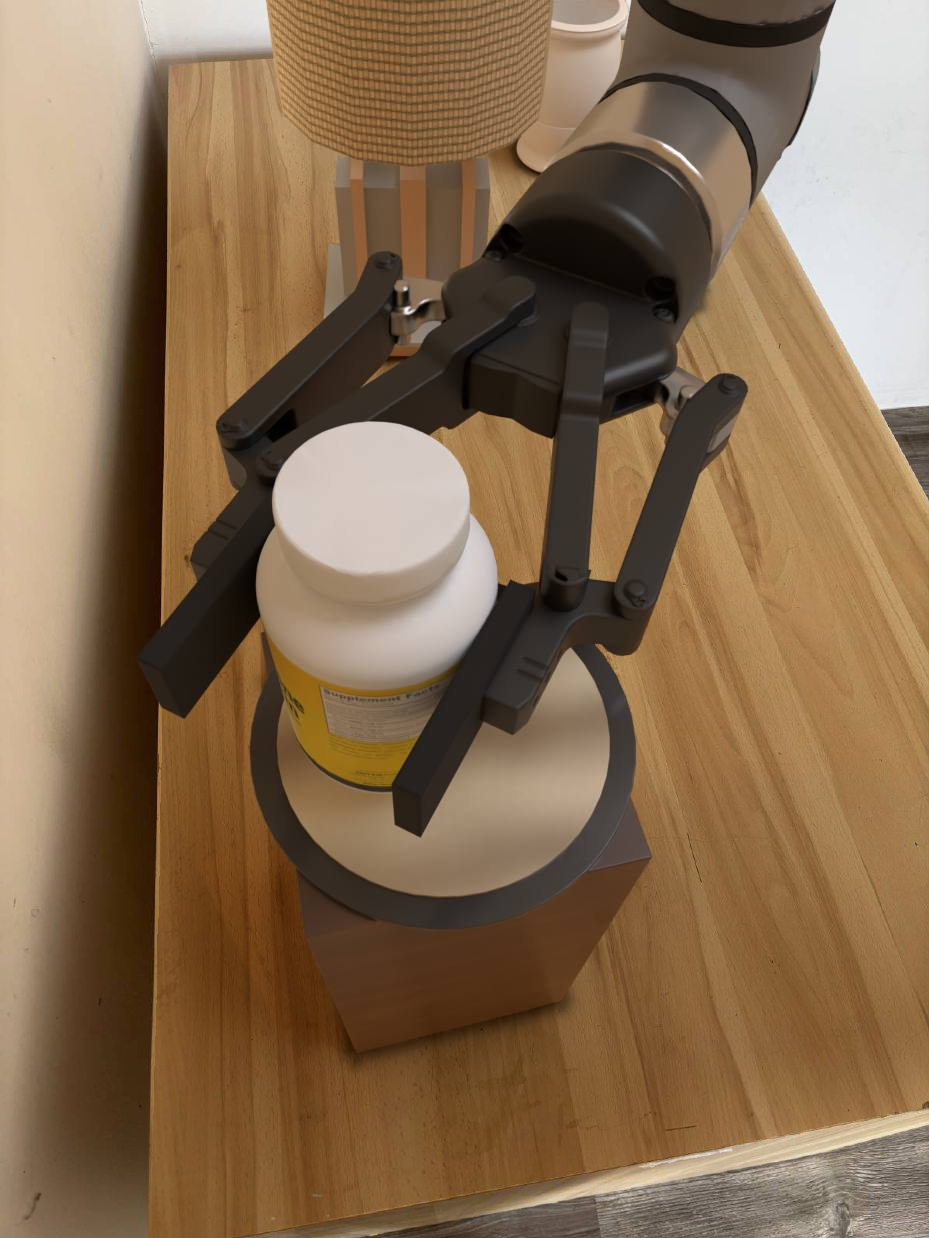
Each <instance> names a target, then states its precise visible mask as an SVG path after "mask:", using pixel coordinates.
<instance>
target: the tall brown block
mask: <svg viewBox="0 0 929 1238" xmlns="http://www.w3.org/2000/svg"><path fill="white" fill-rule="evenodd" d="M538 583H539V581H534V582H529V583H522V584H523V585H525V586H527V587H530V588H532V589H534V590H536V594H535V598H536V596H537V592H538ZM506 586H507V584H502V583H499V582H498V589H497V600H496V603H497V602H498V600H499V598H500V596H501V595H502V593H503V591H504V589H505V588H506ZM260 639H261V645H262V653H263V661H264V667H265V674H266V679H265V681H264V684H263V687H262V688H261V692H260V694H259V697H258V699H257V702H256V706H255V710H254V714H253V718H252V721H251V728H250V729H251V730H250V736H249V737H250V739H249V749H248V751H249V766H250V775H251V780H252V786H253V792H254V796H255V799H256V801H257V804H258V808H259V810H260V812H261V815H262V818H263V820H264V823H265V825H266V827H267V830H268V831H269V832H270V834H271V836H272V838H273V840H274V842H275V843H276V845H277V846H278V848H279V849H280V851H281V852H282V853H283V855H284V856H285V857H286V858H287V860H288V862H290V864H291V866H293V868H294V871H295V878H296V885H297V893H298V898H299V899H298V900H299V906H300V913H301V920H302V926H303V934H304V939H305V941H306V943H307V945H308V948H309V949H310V952H311V955H312V957H313V959H314V961H315V963H316V965H317V968H318V969H319V972H320V974H321V977H322V979H323V981H324V984H325V985H326V988H327V990H328V992H329V994H330V997H331V999H332V1002H333V1004H334V1006H335V1009H336V1011H337V1012H338V1015H339V1017H340V1019H341V1021H342V1024H343V1026H344V1029H345V1030H346V1033H347V1035H348V1037H349V1039H350V1042H351V1045H352V1046H353V1049H354V1050H355V1053H356V1054H360V1053H364V1052H368V1051H372V1050H376V1049H380V1048H383V1047H389V1046H392V1045H396V1044H399V1043H400V1044H401V1043H403V1042H408V1041H411V1040H416V1039H419V1038H423V1037H426V1036H427V1037H428V1036H431V1035H435V1034H439V1033H443V1032H447V1031H451V1030H454V1029H459V1028H462V1027H466V1026H470V1025H474V1024H479V1023H482V1022H487V1021H491V1020H494V1019H497V1018H501V1017H506V1016H510V1015H514V1014H517V1013H522V1012H525V1011H529V1010H533V1009H537V1008H541V1007H545V1006H550V1005H552V1004H557V1003H561V1002H562V1001H563V999H564V997H565V995H566V994H567V992H568V991H569V989H570V988H571V986H572V985H573V983H574V982H575V980H576V979H577V978H578V975H579V973H580V972H581V971H582V969H583V967H584V965H585V964H586V962H587V961H588V960H589V957H591V954H592V953H593V951H594V950H595V948H596V947H597V945H598V943H599V942H600V941H601V939H602V937H603V936H604V934H605V933H606V932H607V930H608V928H609V926H610V924H611V922H612V921H613V920H614V918H615V917H616V915H617V914H618V912H619V911H620V909H621V908H622V906H623V904H624V903H625V901H626V899H627V898H628V896H629V894H630V893H631V891H632V890H633V888H634V887H635V885H636V884H637V883H638V880H639V879H640V878H641V876H642V874H643V872H644V870H646V868H647V866H648V865H649V863H650V862H651V860H652V858H653V856H652V852H651V849H650V846H649V844H648V841H647V837H646V835H645V833H644V830H643V827H642V824H641V821H640V819H639V815H638V813H637V810H636V808H635V805H634V801H633V798H632V796H631V795H632V792H633V788H634V783H635V773H636V767H637V737H636V732H635V731H636V730H635V726H634V719H633V718H634V717H633V714H632V711H631V708H630V704H629V701H628V698H627V696H626V693H625V690H624V688H623V686H622V684H621V681H620V679H619V677H618V675H617V673H616V672H615V670H614V669H613V667H612V665H611V664H610V662H609V661H608V659H607V657H606V656H605V655H604V653H603V652H602V651H601V649H600V648H599V647H598V646H597V644H591V643H582V644H577V645H574V646H572V647H570V648H569V649H568V650H567V651H565V653H564V654H563V656H562V657H561V659H560V661H559V663H558V665H557V667H556V669H555V671H554V673H553V675H552V677H551V679H550V681H549V683H548V685H547V687H546V688H545V690H544V692H543V694H542V696H541V698H540V700H539V702H538V704H537V706H536V708H535V710H534V712H533V714H532V716H531V718H530V720H529V722H528V723H527V724H526V725H525V726H524V727H523V728H521V729H520V730H519V731H518V732H516V733H515V734H514V735H511V734H509V733H507V732H504V731H502V730H500V729H498V728H496V727H494V726H491V725H489V724H487V723H485V722H483V724H482V726H481V728H480V730H479V731H478V733H477V735H476V737H475V740H474V742H473V743H472V745H471V747H470V748H469V750H468V752H467V754H466V755H465V757H464V759H463V761H462V763H461V765H460V766H459V768H458V770H457V772H456V774H455V776H454V777H453V779H452V781H451V783H450V785H449V787H448V788H447V790H446V792H445V794H444V796H443V798H442V800H441V801H440V803H439V805H438V807H437V809H436V811H435V812H434V814H433V816H432V818H431V820H430V822H429V823H428V825H427V827H426V829H425V831H424V833H423V834H422V836H421V838H420V837H418V836H416V835H414V834H412V833H410V832H408V831H406V830H404V829H402V828H400V827H398V826H396V825H395V823H394V811H393V798H392V794H375V793H367V792H362V791H358V790H354V789H351V788H349V787H346V786H344V785H341V784H339V783H337V782H335V781H334V780H332V779H330V778H329V777H327V776H326V775H325V774H323V773H322V772H321V771H320V770H319V769H318V768H317V767H316V766H315V765H314V764H313V763H312V762H311V761H310V760H309V759H308V757H307V756H306V755H305V753H304V752H303V750H302V748H301V747H300V745H299V743H298V741H297V739H296V736H295V734H294V731H293V728H292V724H291V721H290V717H289V714H288V710H287V707H286V703H285V700H284V696H283V693H282V689H281V686H280V682H279V678H278V675H277V671H276V668H275V664H274V660H273V657H272V653H271V650H270V647H269V643H268V640H267V636H266V633H265V630H264V631H260Z"/></svg>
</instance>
